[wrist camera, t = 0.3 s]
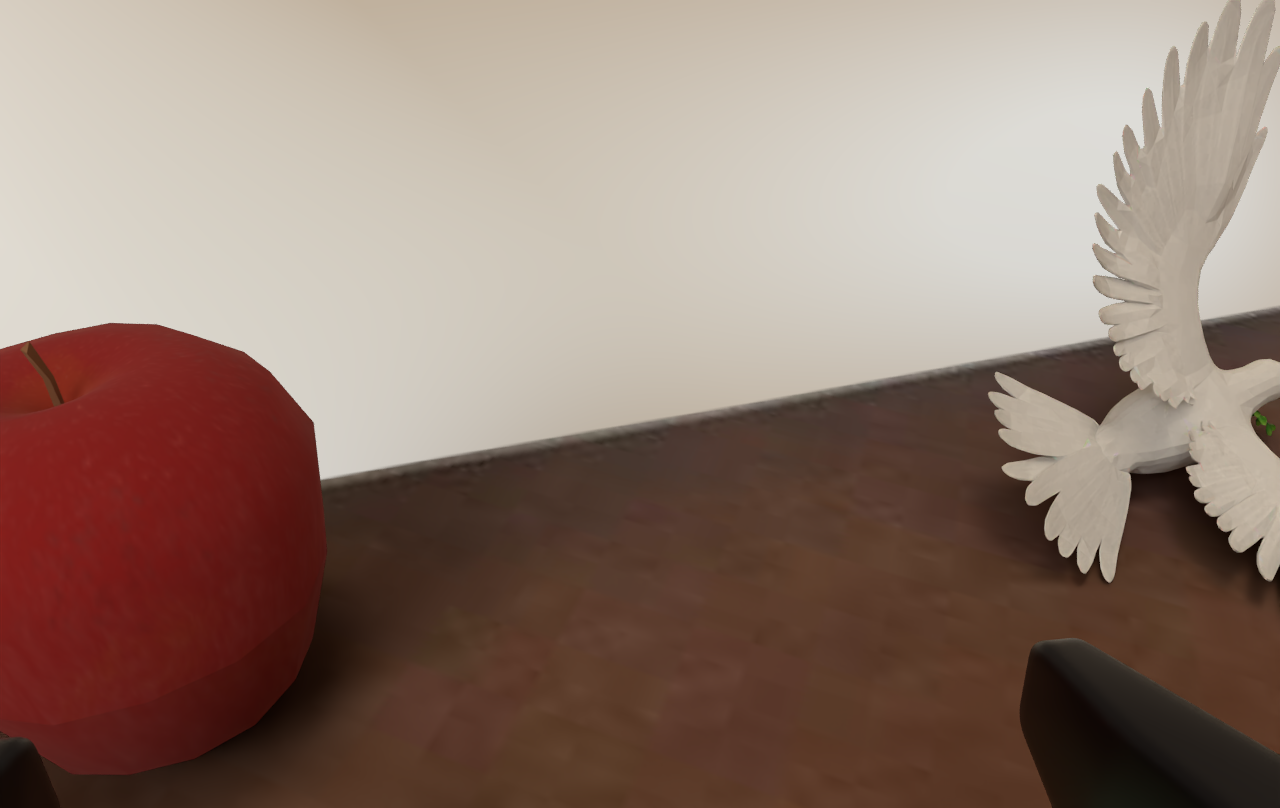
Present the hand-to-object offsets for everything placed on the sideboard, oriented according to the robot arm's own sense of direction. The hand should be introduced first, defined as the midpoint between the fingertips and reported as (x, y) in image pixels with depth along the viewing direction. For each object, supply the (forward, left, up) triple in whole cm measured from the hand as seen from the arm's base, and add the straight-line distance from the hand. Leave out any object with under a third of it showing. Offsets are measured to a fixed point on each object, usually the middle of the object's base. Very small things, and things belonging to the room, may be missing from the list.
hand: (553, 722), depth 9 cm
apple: (+18, +12, -17) cm, 27 cm away
